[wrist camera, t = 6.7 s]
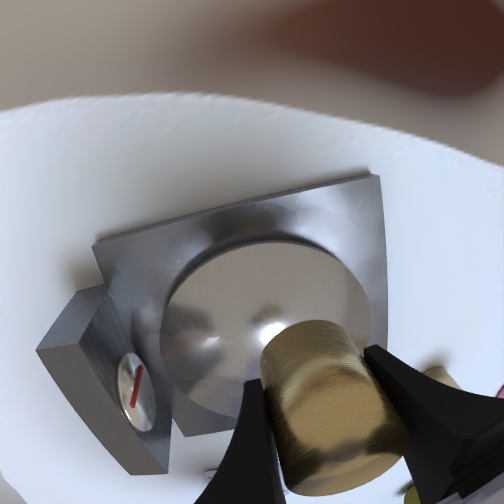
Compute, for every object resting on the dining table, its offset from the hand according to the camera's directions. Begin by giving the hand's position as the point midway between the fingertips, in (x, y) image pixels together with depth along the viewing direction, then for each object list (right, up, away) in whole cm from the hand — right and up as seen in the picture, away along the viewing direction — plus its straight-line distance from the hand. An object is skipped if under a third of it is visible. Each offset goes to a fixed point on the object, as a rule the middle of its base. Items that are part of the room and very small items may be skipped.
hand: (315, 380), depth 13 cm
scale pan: (-2, -1, +8) cm, 8 cm away
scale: (-3, 0, +10) cm, 10 cm away
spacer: (0, 0, +1) cm, 2 cm away
